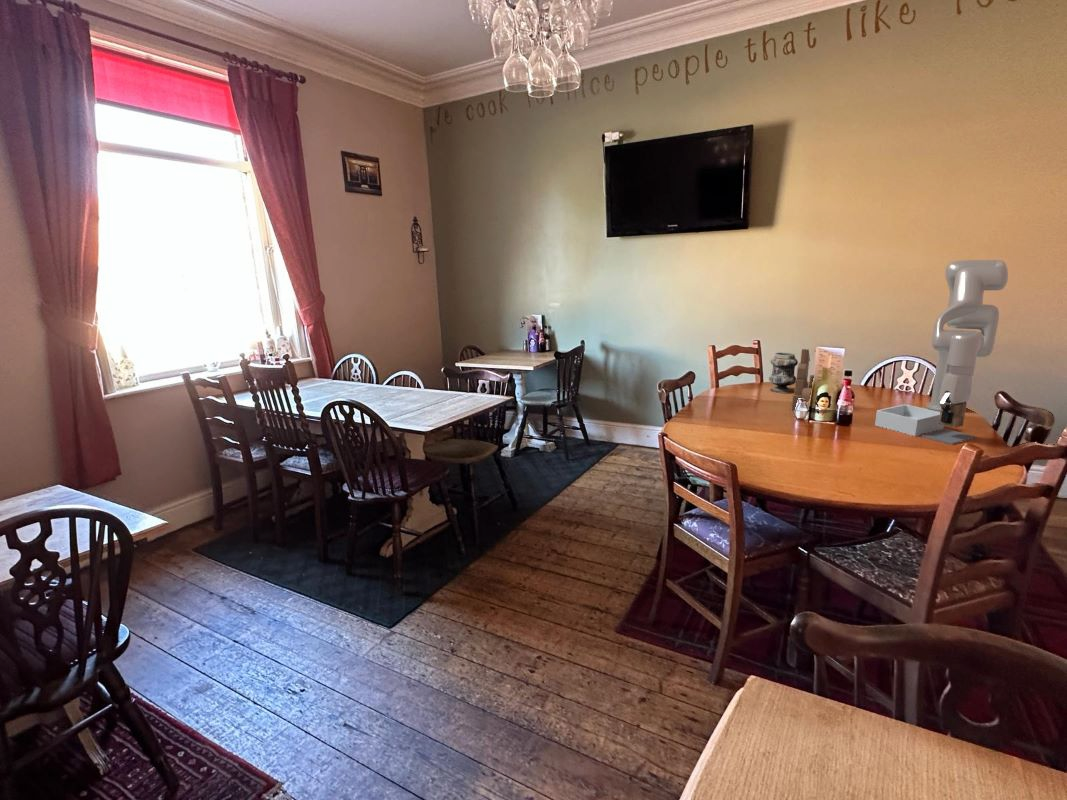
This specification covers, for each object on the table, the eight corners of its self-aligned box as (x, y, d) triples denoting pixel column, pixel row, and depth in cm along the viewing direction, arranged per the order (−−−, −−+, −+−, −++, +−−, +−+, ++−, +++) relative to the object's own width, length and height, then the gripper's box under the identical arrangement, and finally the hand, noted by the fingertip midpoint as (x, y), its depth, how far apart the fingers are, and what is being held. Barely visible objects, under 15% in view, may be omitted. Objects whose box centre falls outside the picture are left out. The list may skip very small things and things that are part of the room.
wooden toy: (809, 412, 224) (815, 352, 217) (791, 410, 227) (797, 351, 221) (815, 403, 236) (821, 347, 229) (799, 402, 239) (804, 346, 233)
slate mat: (944, 430, 197) (945, 428, 197) (976, 438, 188) (976, 436, 188) (920, 436, 191) (921, 435, 191) (951, 444, 182) (952, 443, 182)
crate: (902, 418, 211) (905, 404, 210) (943, 428, 198) (946, 413, 197) (874, 425, 205) (876, 410, 203) (914, 436, 192) (917, 420, 190)
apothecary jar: (799, 389, 260) (802, 352, 255) (790, 395, 251) (793, 356, 247) (773, 386, 268) (776, 350, 263) (763, 391, 259) (766, 354, 255)
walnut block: (946, 422, 191) (950, 400, 189) (962, 425, 187) (966, 403, 185) (938, 424, 189) (941, 402, 187) (954, 428, 185) (957, 405, 183)
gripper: (962, 365, 190) (953, 415, 195) (932, 371, 183) (924, 422, 188) (987, 369, 183) (977, 420, 188) (956, 375, 177) (947, 428, 181)
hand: (951, 421), depth 188 cm, fingers closed on walnut block, 5 cm apart
